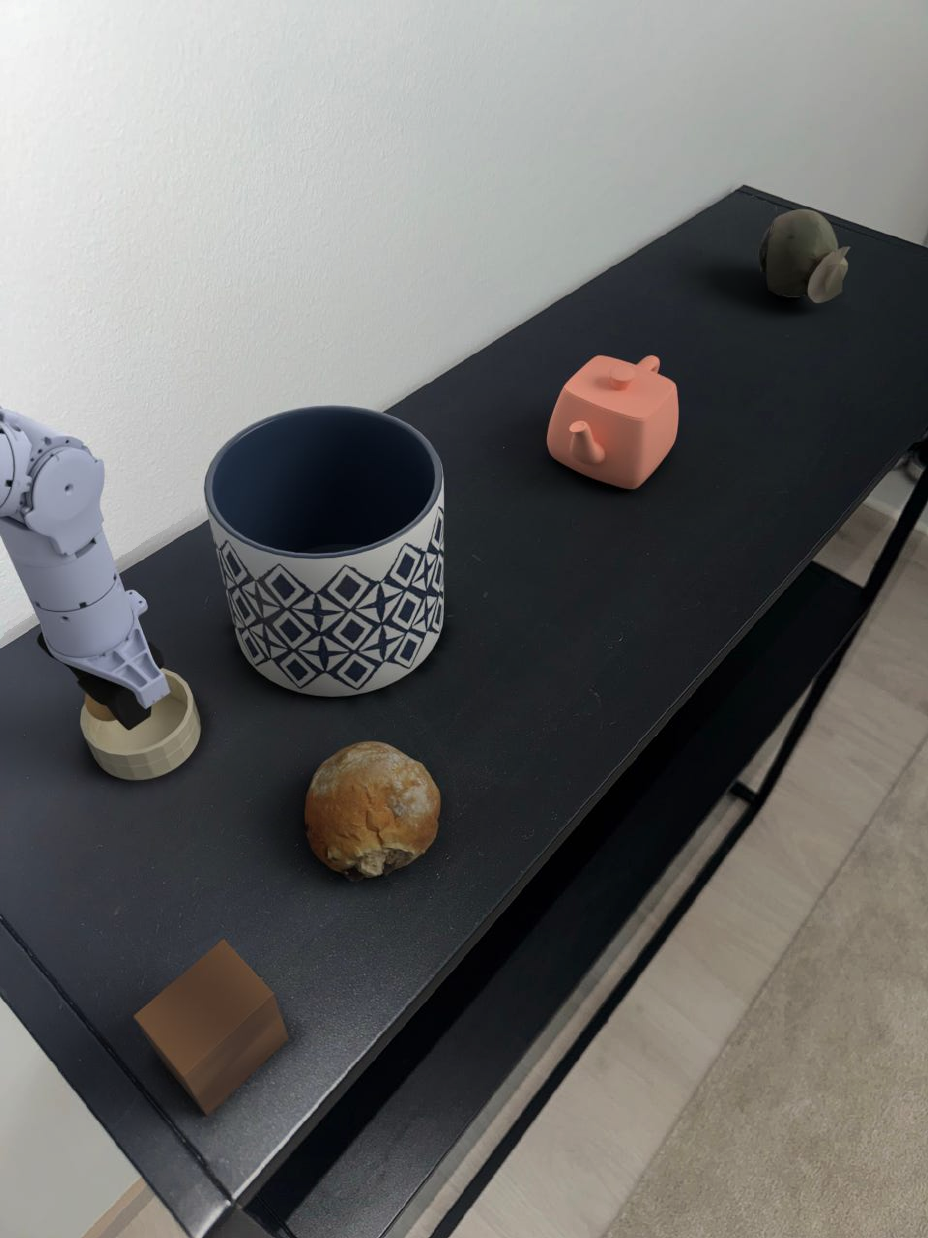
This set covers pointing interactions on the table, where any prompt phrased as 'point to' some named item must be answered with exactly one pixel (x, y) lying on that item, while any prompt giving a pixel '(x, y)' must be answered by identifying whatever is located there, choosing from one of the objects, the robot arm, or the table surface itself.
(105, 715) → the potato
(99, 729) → the bowl
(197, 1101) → the block
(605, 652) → the table surface
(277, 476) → the planter
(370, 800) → the bread roll
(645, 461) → the teapot
